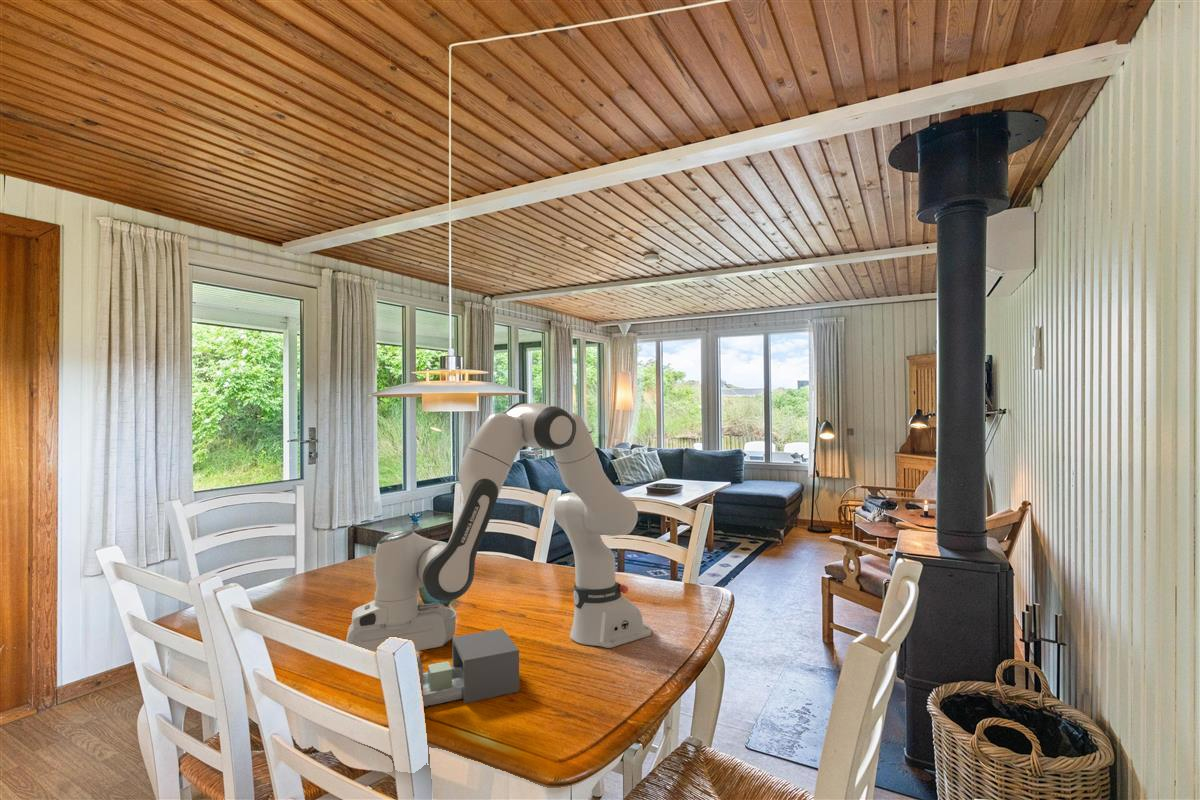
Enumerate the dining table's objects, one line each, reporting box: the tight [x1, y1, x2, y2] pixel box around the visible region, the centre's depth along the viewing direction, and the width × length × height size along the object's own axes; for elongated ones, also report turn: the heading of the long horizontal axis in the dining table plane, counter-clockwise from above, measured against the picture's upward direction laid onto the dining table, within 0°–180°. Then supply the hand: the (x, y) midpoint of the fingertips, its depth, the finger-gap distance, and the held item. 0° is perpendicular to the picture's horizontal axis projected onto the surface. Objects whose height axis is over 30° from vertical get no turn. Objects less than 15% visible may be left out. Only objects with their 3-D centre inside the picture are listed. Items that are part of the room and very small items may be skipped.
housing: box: [451, 628, 520, 704], centre depth 128 cm, size 12×14×9 cm
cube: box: [427, 660, 452, 692], centre depth 124 cm, size 4×4×4 cm
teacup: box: [443, 606, 457, 646], centre depth 150 cm, size 14×11×8 cm
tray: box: [416, 650, 463, 708], centre depth 124 cm, size 12×12×8 cm
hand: (397, 673), depth 120 cm, fingers closed
